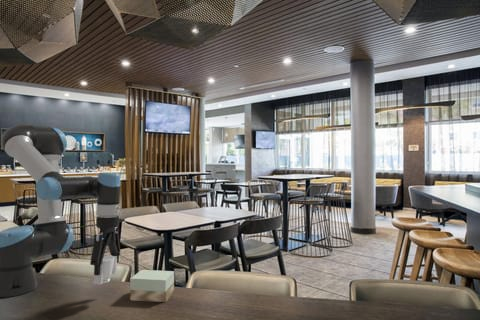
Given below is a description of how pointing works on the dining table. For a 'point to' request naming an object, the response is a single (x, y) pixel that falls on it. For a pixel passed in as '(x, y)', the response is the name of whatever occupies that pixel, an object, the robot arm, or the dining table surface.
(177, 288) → the dining table surface
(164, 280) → the top block
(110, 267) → the cup
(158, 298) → the bottom block
